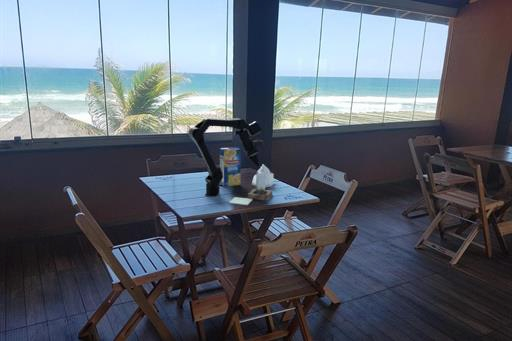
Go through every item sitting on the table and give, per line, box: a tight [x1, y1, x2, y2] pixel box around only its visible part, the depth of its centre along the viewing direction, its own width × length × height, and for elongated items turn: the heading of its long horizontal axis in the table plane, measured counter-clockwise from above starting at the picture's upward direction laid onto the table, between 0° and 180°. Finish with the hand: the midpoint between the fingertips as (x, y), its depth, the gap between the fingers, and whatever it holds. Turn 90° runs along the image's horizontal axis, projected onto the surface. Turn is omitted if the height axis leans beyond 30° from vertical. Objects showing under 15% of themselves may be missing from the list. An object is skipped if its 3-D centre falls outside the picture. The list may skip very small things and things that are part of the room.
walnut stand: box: [247, 188, 273, 201], centre depth 205 cm, size 11×11×2 cm
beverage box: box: [219, 147, 242, 187], centre depth 227 cm, size 7×11×22 cm, turn 118°
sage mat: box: [228, 196, 254, 206], centre depth 196 cm, size 10×10×1 cm
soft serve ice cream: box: [251, 164, 274, 188], centre depth 228 cm, size 12×15×14 cm
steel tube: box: [255, 173, 266, 195], centre depth 204 cm, size 5×5×12 cm
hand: (257, 164), depth 211 cm, fingers open, 9 cm apart
